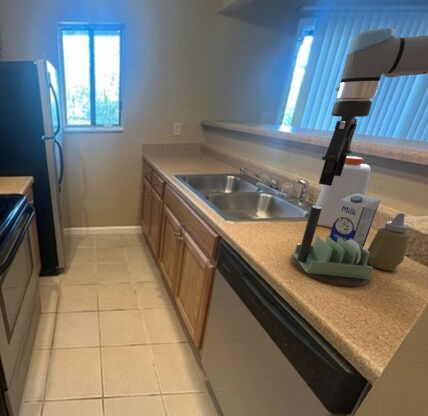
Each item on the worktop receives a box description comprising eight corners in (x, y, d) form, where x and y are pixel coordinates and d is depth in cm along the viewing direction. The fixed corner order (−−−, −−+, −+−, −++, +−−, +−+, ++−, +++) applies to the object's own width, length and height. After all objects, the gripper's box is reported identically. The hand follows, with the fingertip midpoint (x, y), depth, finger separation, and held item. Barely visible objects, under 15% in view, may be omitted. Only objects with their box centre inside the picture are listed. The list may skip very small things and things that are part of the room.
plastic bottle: (308, 224, 116) (326, 158, 106) (313, 213, 126) (330, 152, 116) (355, 234, 107) (380, 163, 96) (356, 221, 117) (379, 156, 107)
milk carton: (361, 254, 93) (382, 198, 85) (346, 257, 91) (365, 200, 84) (340, 244, 99) (357, 192, 92) (325, 247, 98) (341, 194, 90)
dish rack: (348, 259, 88) (367, 204, 81) (370, 279, 78) (395, 218, 71) (289, 254, 92) (303, 200, 85) (304, 272, 82) (321, 213, 75)
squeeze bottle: (403, 276, 81) (427, 220, 75) (367, 268, 85) (387, 215, 78) (393, 262, 88) (415, 210, 81) (360, 256, 91) (378, 206, 85)
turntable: (364, 265, 86) (365, 263, 86) (369, 295, 73) (370, 292, 73) (295, 248, 97) (296, 246, 97) (289, 272, 84) (290, 269, 84)
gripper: (343, 100, 81) (323, 170, 89) (325, 100, 65) (303, 186, 73) (378, 99, 76) (353, 174, 84) (367, 100, 60) (338, 192, 68)
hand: (330, 179), depth 78 cm, fingers open, 13 cm apart
